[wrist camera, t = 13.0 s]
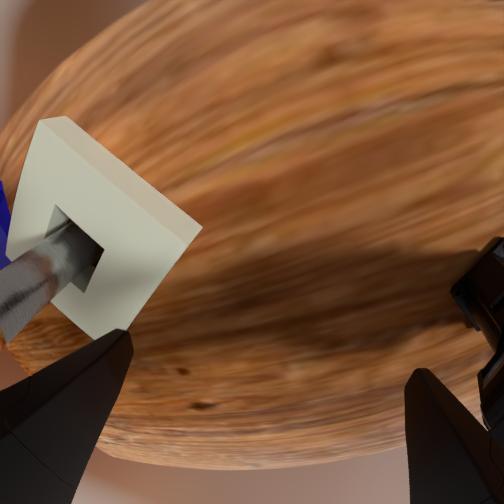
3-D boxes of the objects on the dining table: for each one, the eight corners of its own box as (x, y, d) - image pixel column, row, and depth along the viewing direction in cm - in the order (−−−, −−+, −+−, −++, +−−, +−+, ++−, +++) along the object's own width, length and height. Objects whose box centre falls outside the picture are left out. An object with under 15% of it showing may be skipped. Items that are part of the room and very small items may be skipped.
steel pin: (116, 245, 22) (2, 354, 10) (91, 261, 23) (-11, 361, 11) (92, 206, 20) (-38, 295, 9) (69, 226, 22) (-45, 312, 10)
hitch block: (203, 227, 20) (188, 245, 17) (125, 331, 26) (110, 352, 23) (66, 115, 17) (39, 119, 15) (24, 241, 23) (5, 254, 21)
